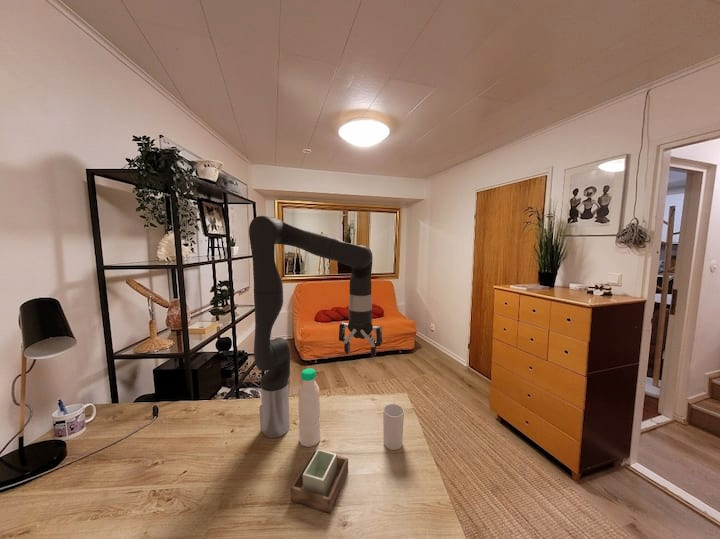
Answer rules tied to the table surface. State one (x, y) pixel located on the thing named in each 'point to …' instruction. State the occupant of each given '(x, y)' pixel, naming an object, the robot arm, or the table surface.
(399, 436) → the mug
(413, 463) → the table surface
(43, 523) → the table surface
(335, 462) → the sage crate
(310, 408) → the water bottle
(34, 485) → the table surface
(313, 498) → the walnut crate
